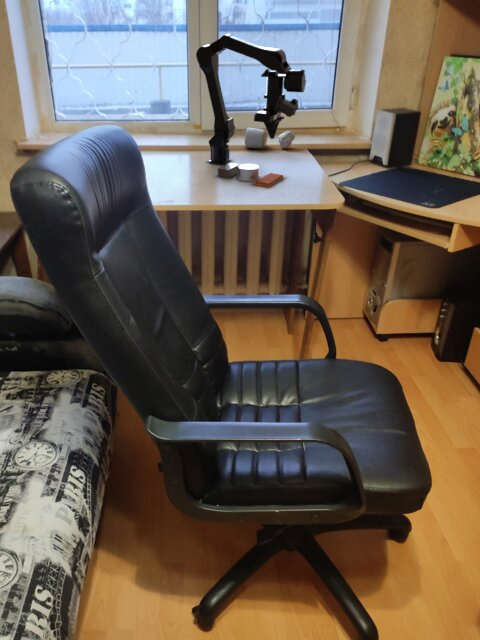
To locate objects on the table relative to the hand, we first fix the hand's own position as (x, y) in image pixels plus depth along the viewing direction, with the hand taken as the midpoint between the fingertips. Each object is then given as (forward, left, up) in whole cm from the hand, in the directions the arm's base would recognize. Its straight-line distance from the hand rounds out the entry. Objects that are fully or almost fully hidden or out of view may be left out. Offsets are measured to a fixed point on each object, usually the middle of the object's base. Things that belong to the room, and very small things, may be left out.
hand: (272, 138), depth 201 cm
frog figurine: (-6, +26, -10) cm, 29 cm away
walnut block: (-8, -17, -10) cm, 21 cm away
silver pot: (0, -17, -10) cm, 20 cm away
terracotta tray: (+8, -17, -10) cm, 21 cm away
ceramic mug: (-18, +22, -10) cm, 30 cm away
